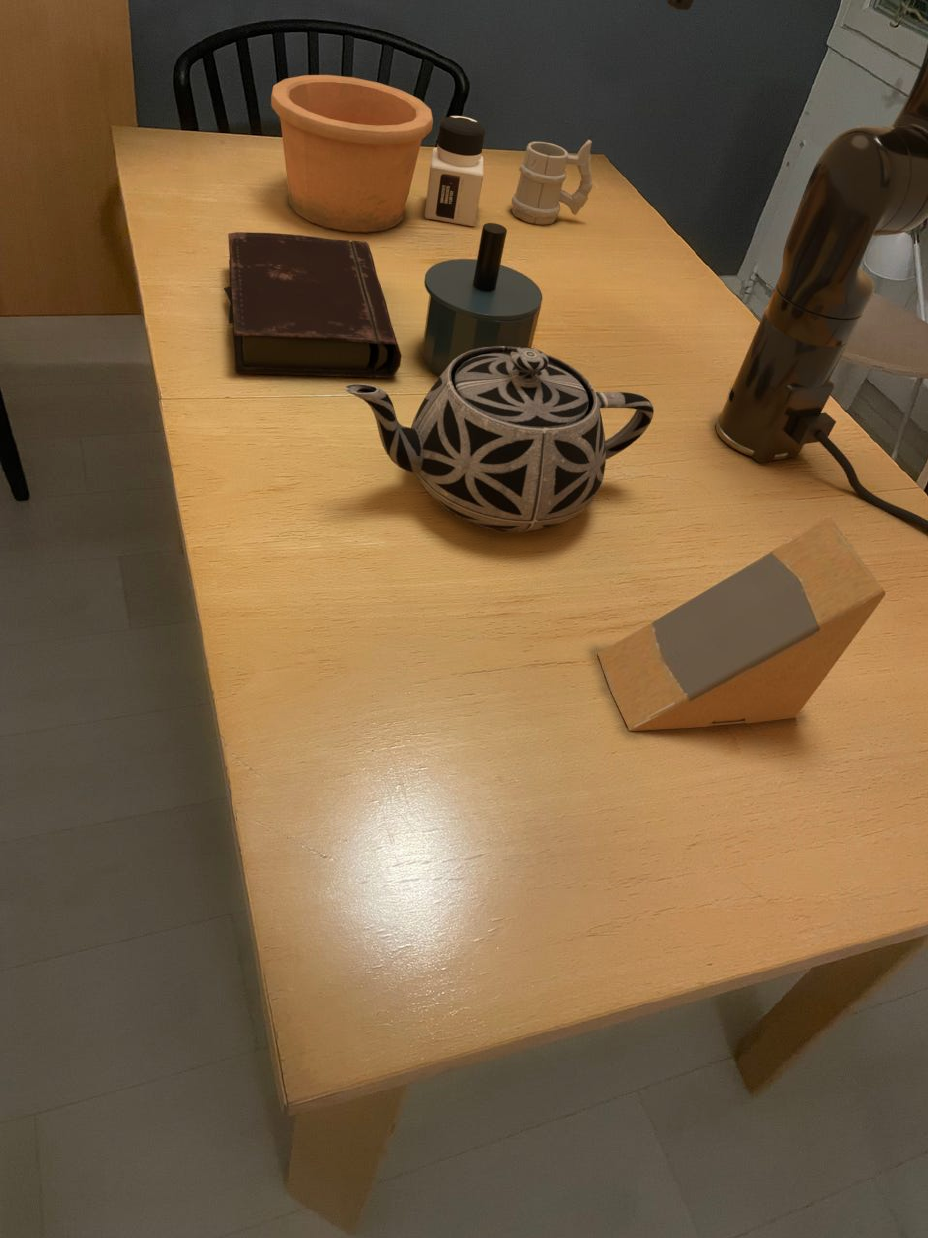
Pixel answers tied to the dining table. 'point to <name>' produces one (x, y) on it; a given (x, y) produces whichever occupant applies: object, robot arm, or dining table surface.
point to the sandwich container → (747, 639)
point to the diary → (308, 307)
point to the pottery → (349, 149)
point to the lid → (484, 283)
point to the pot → (468, 335)
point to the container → (456, 172)
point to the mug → (549, 182)
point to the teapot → (508, 437)
